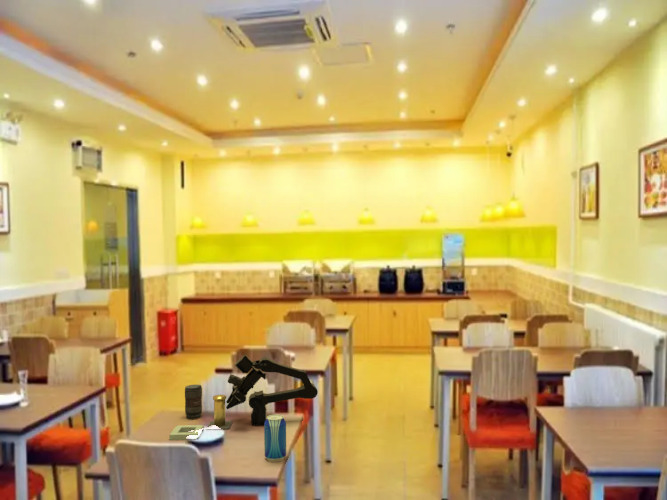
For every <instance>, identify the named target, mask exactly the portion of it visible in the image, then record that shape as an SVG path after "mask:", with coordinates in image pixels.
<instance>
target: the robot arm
mask: <svg viewBox="0 0 667 500" xmlns="http://www.w3.org/2000/svg"><path fill="white" fill-rule="evenodd" d="M234 366H235V368H237V369H238V370H239V371H240V372H241V373H242V374H246V375H245V376H242V377H239V376H237V375H235V374H232V373H230V374H229V376H228V379H227V383H228V384H230V385H231V384H232V387H231V389H232V391H231V393H230V395H229V396H228V398H227V399H226V400H225V403H226V404H227V405H226V406H225V409H227V410H230V409H232V408H234V407H236V406H238V405H241V404H244V403H245V402H246V401H247V395H248V392H249V391H250V390H251V389H253V388H255V387H254V386H255V385H256V384H257V383H258V382H259V380H261V379H263V380H267V378H266V375H267V373H277V374H282V375H285V376H287V377H291V378H295V379H298V380H300V381H301V383H302V385H301V386H299V387H297V388H292V389H287V390H282V391H281V390H280V391H277V392H272V393H270V392H269V393H264V390H259V391H253V393H251V394H250V395H249V397H248V405H249V408H251V409H252V411H251V413H250V423H251V426H264V423H265V421H266V419H267V405H268V404H272V403H277V402H278V403H279V402H283V401H288V400H294V399H308V400H309V399H315V398H316V397H317V396H318V388H317V387H316V385H315V384H313V383H312V382H311V380H310V379H309V376H308V373H307V372H306V370H304V369H299V368H295V367H292V366H288V365H286V364H281V363H279V362H277V361H275V360H273V359H271V358H270V357H267V356H263V357H261V358H260V359H258V360H251V359H250V358H249V357H248V356H247V354H244V355H242V356H241V357H240V358H239V359H238V360H237V361H236V362H235V364H234Z"/></svg>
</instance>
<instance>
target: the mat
mask: <svg viewBox="0 0 667 500" xmlns="http://www.w3.org/2000/svg"><path fill="white" fill-rule="evenodd" d="M232 424H233V421H232V420H227V421H226V420H225V425H224V426H220V427H219V428H221V429H223V430H226V431H227V430H230V428H231V426H232ZM211 425H214V420H213V421H212V420H211V421H210V422H209V423H208V425H207V427H209V426H211ZM207 427H206V428H207Z"/></svg>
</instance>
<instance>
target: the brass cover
mask: <svg viewBox="0 0 667 500" xmlns="http://www.w3.org/2000/svg"><path fill="white" fill-rule="evenodd" d="M212 400H213V421H214V425H216V426H218V427H220V426H224V425H225V421H226V400H227V394H216V395H215V394H214V395H213V396H212Z"/></svg>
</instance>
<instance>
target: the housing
mask: <svg viewBox="0 0 667 500" xmlns="http://www.w3.org/2000/svg"><path fill="white" fill-rule="evenodd" d="M202 428H204V429H205V425H204V424H196V425H195V424H194V425H193V424H189V425H188V424H187V425H185V424H184V425H181V424H180V425H176V426H175V427H174V429H173V430H172V431H171V432H170V433H169V437H168V438H169V441H179V440H180V441H185V440H186V437H187V436H189V435H198V432H196V433H195V431H196V430H199V429H202ZM191 430H194V431H193V432H188V431H191Z"/></svg>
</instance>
